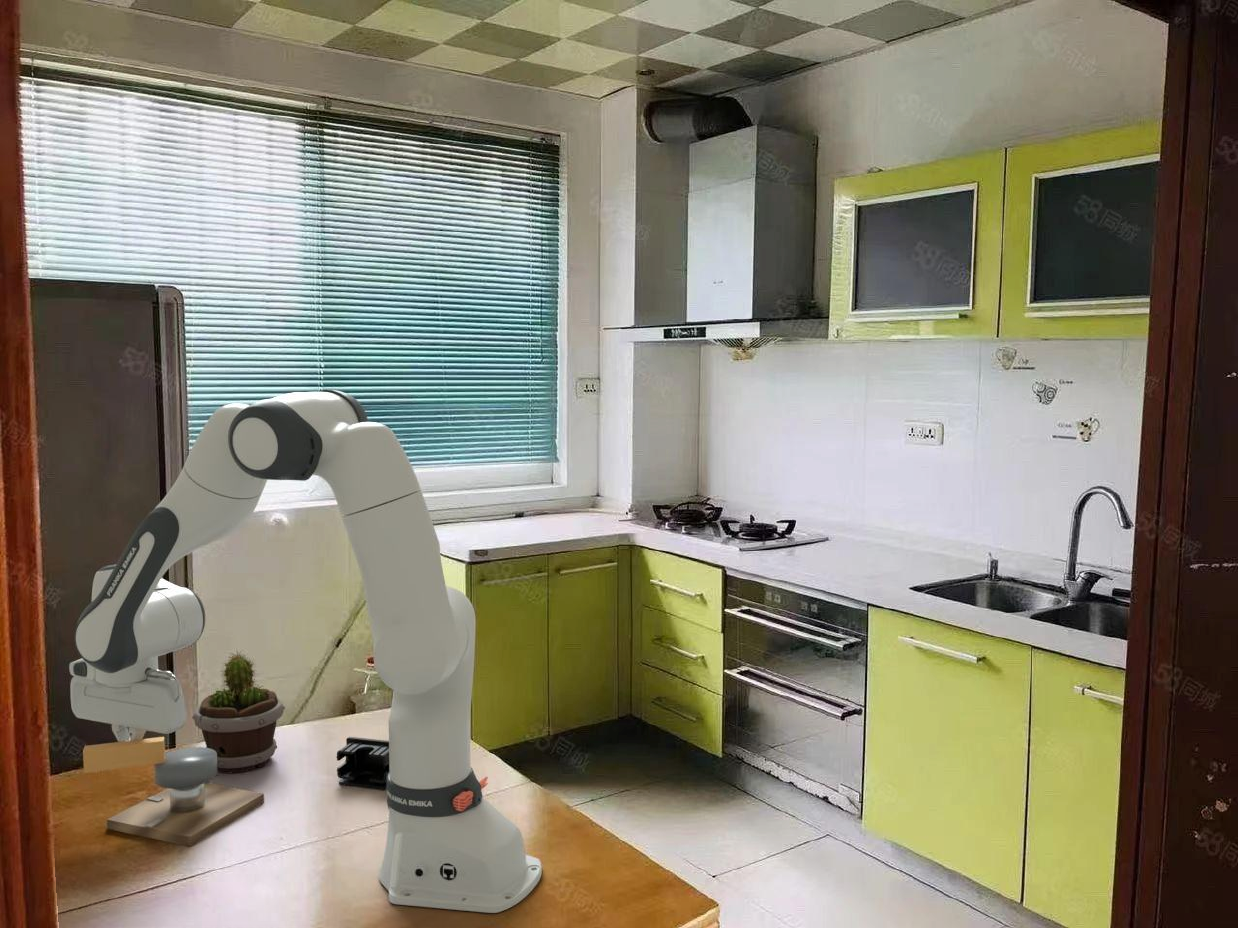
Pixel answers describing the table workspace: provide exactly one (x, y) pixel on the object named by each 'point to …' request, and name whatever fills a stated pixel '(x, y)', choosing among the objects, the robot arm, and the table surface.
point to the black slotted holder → (364, 763)
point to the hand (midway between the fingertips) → (130, 751)
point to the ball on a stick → (155, 761)
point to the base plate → (185, 815)
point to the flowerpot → (240, 719)
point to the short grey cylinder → (187, 799)
